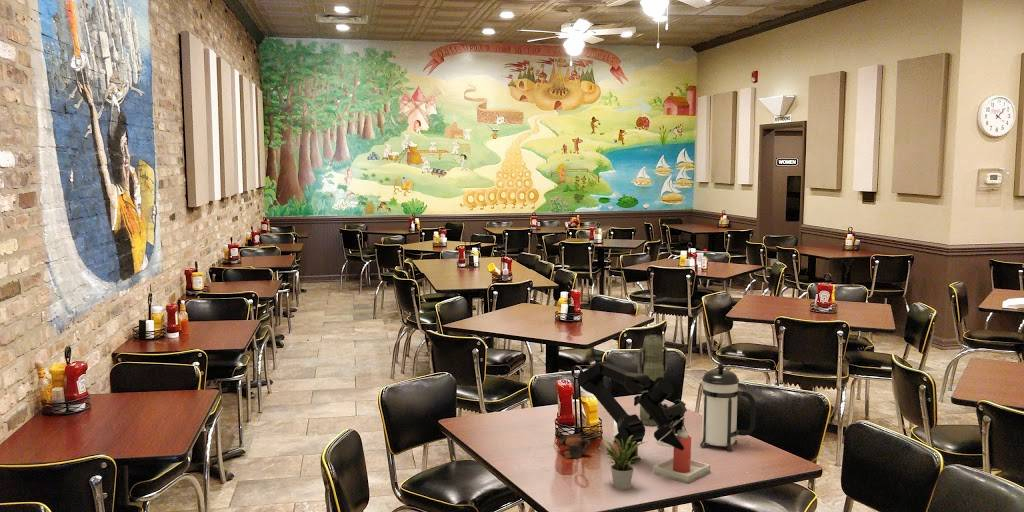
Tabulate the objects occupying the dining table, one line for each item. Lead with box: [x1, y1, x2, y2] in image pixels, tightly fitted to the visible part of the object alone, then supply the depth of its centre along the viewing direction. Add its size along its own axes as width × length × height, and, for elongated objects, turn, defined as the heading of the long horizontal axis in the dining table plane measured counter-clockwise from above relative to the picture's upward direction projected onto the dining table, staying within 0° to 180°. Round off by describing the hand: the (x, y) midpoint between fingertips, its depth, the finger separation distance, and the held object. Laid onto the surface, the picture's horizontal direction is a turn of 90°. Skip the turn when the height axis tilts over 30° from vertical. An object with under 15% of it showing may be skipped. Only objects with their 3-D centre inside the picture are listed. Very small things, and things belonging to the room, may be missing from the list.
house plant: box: [603, 435, 647, 490], centre depth 264 cm, size 14×14×16 cm
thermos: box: [637, 334, 668, 428], centre depth 329 cm, size 9×12×35 cm
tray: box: [652, 457, 711, 484], centre depth 276 cm, size 14×13×2 cm
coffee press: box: [698, 363, 757, 452], centre depth 302 cm, size 17×16×30 cm
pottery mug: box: [558, 434, 592, 459], centre depth 294 cm, size 12×10×8 cm
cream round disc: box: [655, 434, 677, 448], centre depth 307 cm, size 10×10×4 cm
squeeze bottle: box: [672, 425, 692, 473], centre depth 275 cm, size 6×6×15 cm
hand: (686, 445), depth 275 cm, fingers open, 9 cm apart
